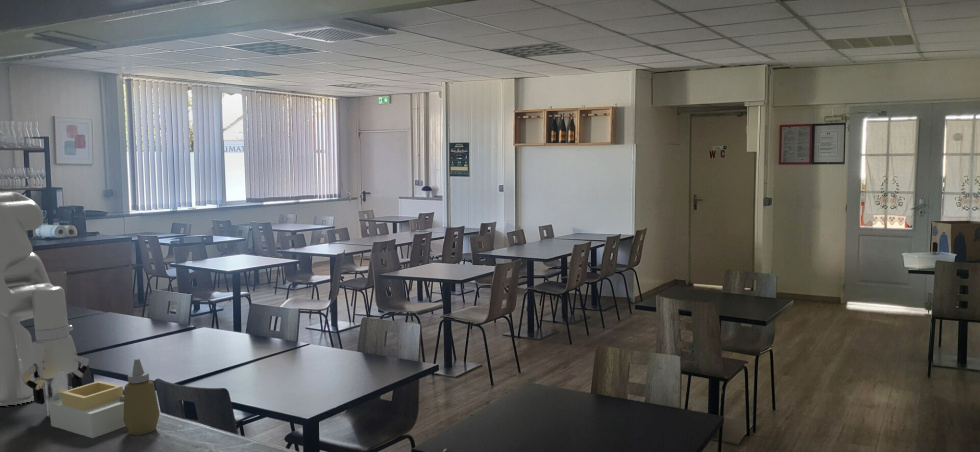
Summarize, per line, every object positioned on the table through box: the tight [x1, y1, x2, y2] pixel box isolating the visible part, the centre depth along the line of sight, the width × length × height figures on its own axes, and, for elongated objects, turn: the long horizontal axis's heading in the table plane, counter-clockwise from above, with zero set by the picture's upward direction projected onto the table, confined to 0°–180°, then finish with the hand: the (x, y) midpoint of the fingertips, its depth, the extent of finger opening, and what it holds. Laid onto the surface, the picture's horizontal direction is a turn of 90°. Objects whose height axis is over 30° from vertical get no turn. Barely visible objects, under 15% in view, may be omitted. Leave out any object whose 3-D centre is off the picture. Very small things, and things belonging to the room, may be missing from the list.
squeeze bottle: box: [123, 358, 161, 436], centre depth 180 cm, size 8×8×18 cm
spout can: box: [43, 370, 70, 418], centre depth 194 cm, size 6×6×14 cm
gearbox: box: [49, 380, 126, 439], centre depth 187 cm, size 18×12×9 cm, turn 59°
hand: (59, 397), depth 194 cm, fingers open, 9 cm apart
